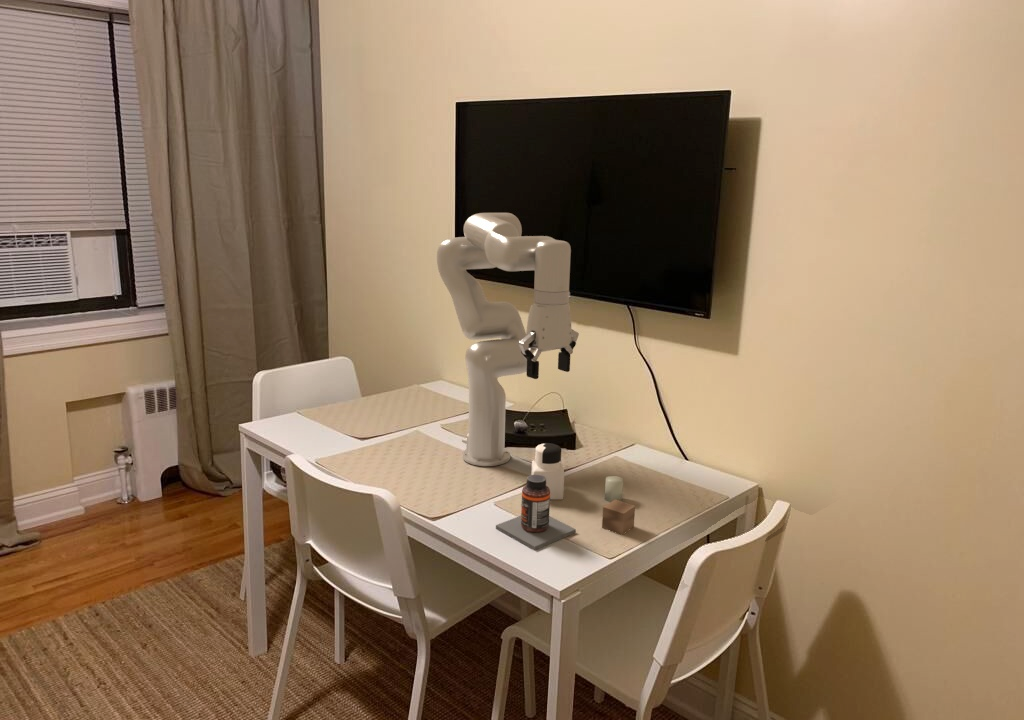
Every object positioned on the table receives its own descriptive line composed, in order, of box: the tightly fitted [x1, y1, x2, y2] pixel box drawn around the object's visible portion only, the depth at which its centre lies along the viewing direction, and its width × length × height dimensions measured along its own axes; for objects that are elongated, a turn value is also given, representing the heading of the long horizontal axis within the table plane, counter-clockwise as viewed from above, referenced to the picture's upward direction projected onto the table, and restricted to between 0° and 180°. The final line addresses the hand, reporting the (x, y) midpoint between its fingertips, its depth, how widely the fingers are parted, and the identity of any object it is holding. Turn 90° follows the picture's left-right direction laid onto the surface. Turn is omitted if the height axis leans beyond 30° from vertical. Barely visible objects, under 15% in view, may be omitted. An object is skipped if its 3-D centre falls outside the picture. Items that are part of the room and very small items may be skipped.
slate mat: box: [495, 515, 577, 551], centre depth 160 cm, size 12×12×1 cm
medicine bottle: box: [530, 442, 565, 501], centre depth 177 cm, size 7×7×12 cm
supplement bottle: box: [520, 474, 551, 533], centre depth 159 cm, size 6×6×11 cm
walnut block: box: [601, 499, 636, 536], centre depth 162 cm, size 5×5×5 cm
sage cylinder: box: [604, 475, 624, 503], centre depth 176 cm, size 4×4×5 cm
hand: (548, 374), depth 168 cm, fingers open, 9 cm apart
